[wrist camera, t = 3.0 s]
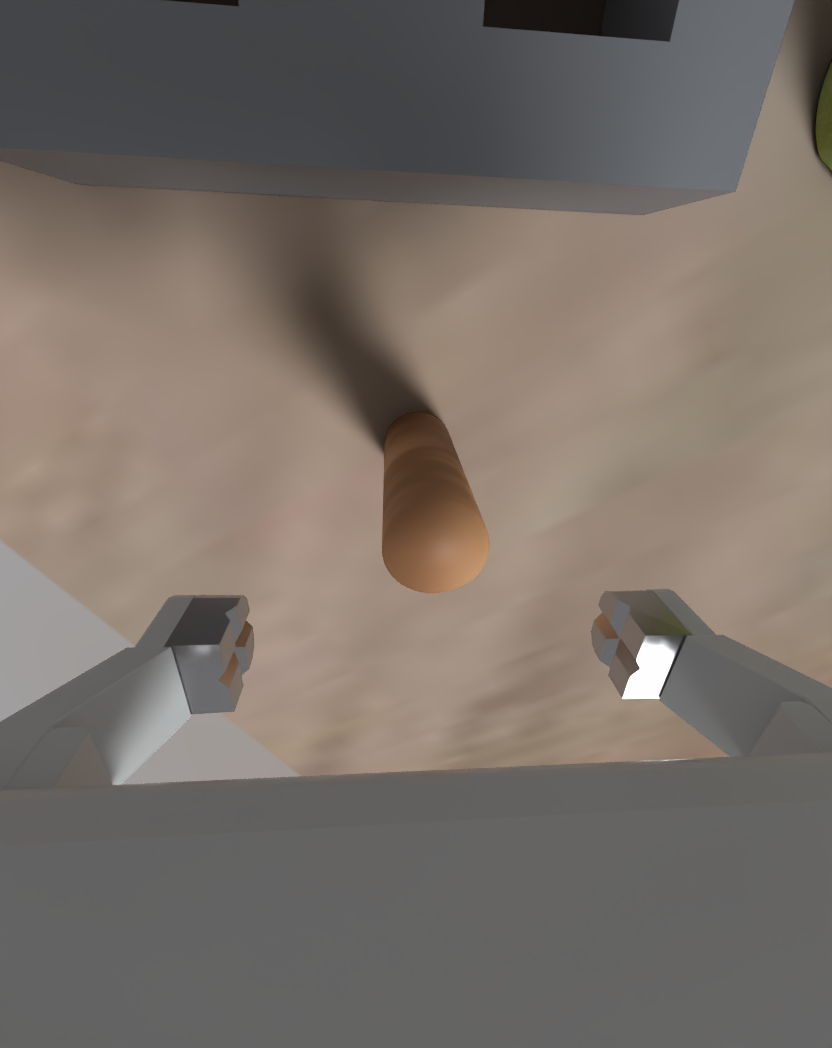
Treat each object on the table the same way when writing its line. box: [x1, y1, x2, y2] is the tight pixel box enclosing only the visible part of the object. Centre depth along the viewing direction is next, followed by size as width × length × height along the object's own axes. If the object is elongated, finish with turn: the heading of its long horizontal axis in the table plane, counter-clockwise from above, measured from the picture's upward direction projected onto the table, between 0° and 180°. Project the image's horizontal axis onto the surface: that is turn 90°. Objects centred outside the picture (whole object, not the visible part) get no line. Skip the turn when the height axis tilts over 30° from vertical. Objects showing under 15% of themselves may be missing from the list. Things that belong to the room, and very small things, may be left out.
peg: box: [382, 412, 490, 593], centre depth 16 cm, size 3×3×9 cm
